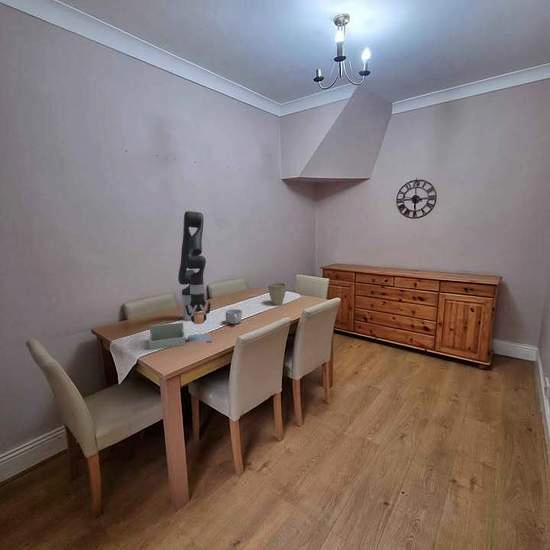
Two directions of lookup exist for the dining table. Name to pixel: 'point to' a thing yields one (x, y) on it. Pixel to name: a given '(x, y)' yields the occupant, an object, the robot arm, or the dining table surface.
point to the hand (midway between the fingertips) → (198, 321)
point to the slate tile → (199, 338)
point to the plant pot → (277, 292)
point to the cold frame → (166, 335)
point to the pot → (198, 317)
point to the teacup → (233, 316)
